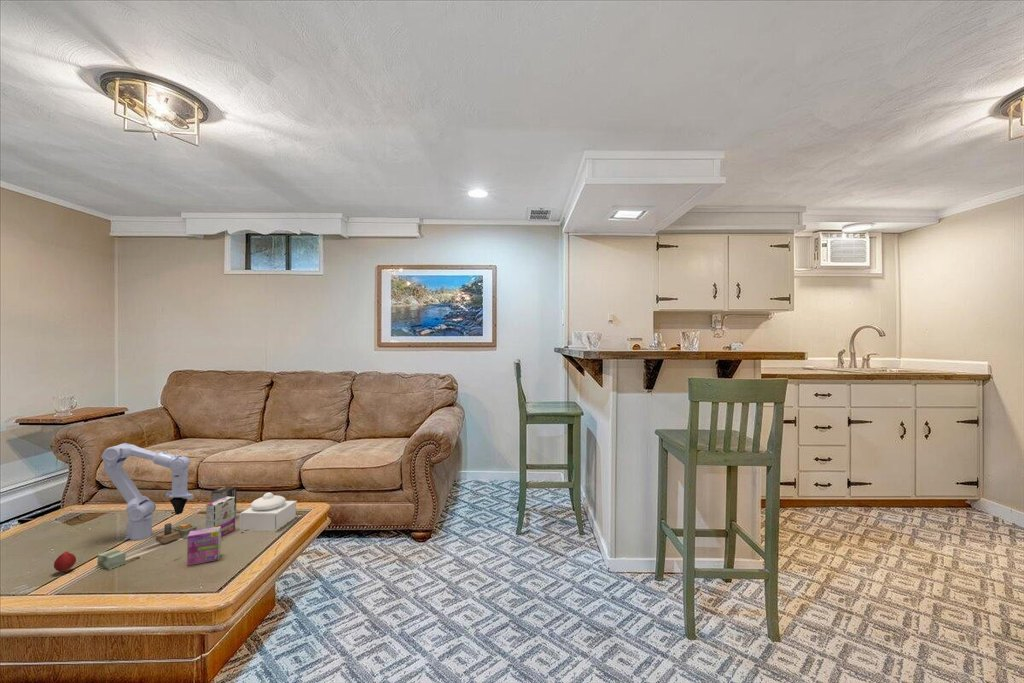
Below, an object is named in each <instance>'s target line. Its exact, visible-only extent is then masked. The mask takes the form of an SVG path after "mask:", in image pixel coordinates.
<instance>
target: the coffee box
mask: <svg viewBox="0 0 1024 683" xmlns="http://www.w3.org/2000/svg"><path fill="white" fill-rule="evenodd" d="M227 496H229V497H235V519H237V486H232V485H225V486H223V487H220V488H218V489H215V490H212V491H211V503H212V502H214V501H217V500H219V499H222V498H224V497H227Z"/></svg>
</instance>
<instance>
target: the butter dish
mask: <svg viewBox="0 0 1024 683" xmlns="http://www.w3.org/2000/svg"><path fill="white" fill-rule="evenodd" d="M297 502H298V500H286V498H285V497H284V496H282V495H274V493H272V492H266V493H264V494H263V496H261V497H259V498H257V499H254V501H252V502H251V503H250V507H249V508H247V509H245V510H243V511H242V512H240V513H239V516H238V517H239V519H238V521H239V522H238V523H239V524H238V526H239V527H238V530H243V531H250V530H269V529H270V530H272V529H277V528H278V527H280V526H281V525H283V524H284V523H286V522H287V521H288V520H290V519H292V518H293V517H295V516H297V514H296V512H297Z"/></svg>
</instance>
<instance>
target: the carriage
mask: <svg viewBox="0 0 1024 683" xmlns="http://www.w3.org/2000/svg"><path fill="white" fill-rule="evenodd" d="M163 530H164V532H162V533H158V534H155V542H162V543H166V542H169V541H172V540H174V539H177V538H180V532H177V531H173V529H172V523H171V522H169V523H166V524H164V529H163Z"/></svg>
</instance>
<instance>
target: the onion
mask: <svg viewBox="0 0 1024 683" xmlns="http://www.w3.org/2000/svg"><path fill="white" fill-rule="evenodd" d="M76 561H77V557H76V556H75V554H74V553H71V552H69V550H65V551H63V553H61V554H59V556H57V558H56V559H55V560H54V561H53V562H54V563H53V568H54V569H55V570H56V571H58V572H61V573H67V572H68V571H70V569H71V568H73V567H74V566H75V564H76ZM66 571H67V572H66Z"/></svg>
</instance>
